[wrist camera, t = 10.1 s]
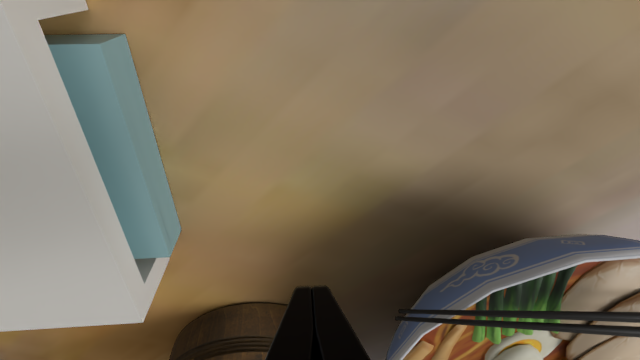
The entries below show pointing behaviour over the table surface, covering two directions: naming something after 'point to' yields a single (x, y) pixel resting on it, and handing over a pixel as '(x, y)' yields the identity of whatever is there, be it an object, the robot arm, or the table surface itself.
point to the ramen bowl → (531, 304)
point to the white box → (56, 197)
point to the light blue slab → (119, 137)
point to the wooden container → (230, 333)
